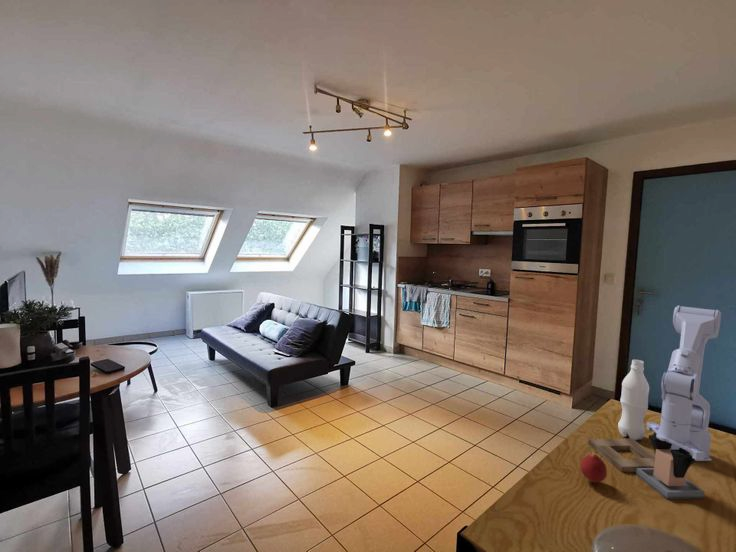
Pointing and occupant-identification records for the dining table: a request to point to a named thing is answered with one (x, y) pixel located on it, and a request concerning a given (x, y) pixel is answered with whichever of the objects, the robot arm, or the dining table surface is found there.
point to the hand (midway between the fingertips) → (670, 470)
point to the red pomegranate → (593, 468)
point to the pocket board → (623, 464)
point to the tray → (670, 491)
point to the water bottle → (634, 402)
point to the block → (666, 468)
